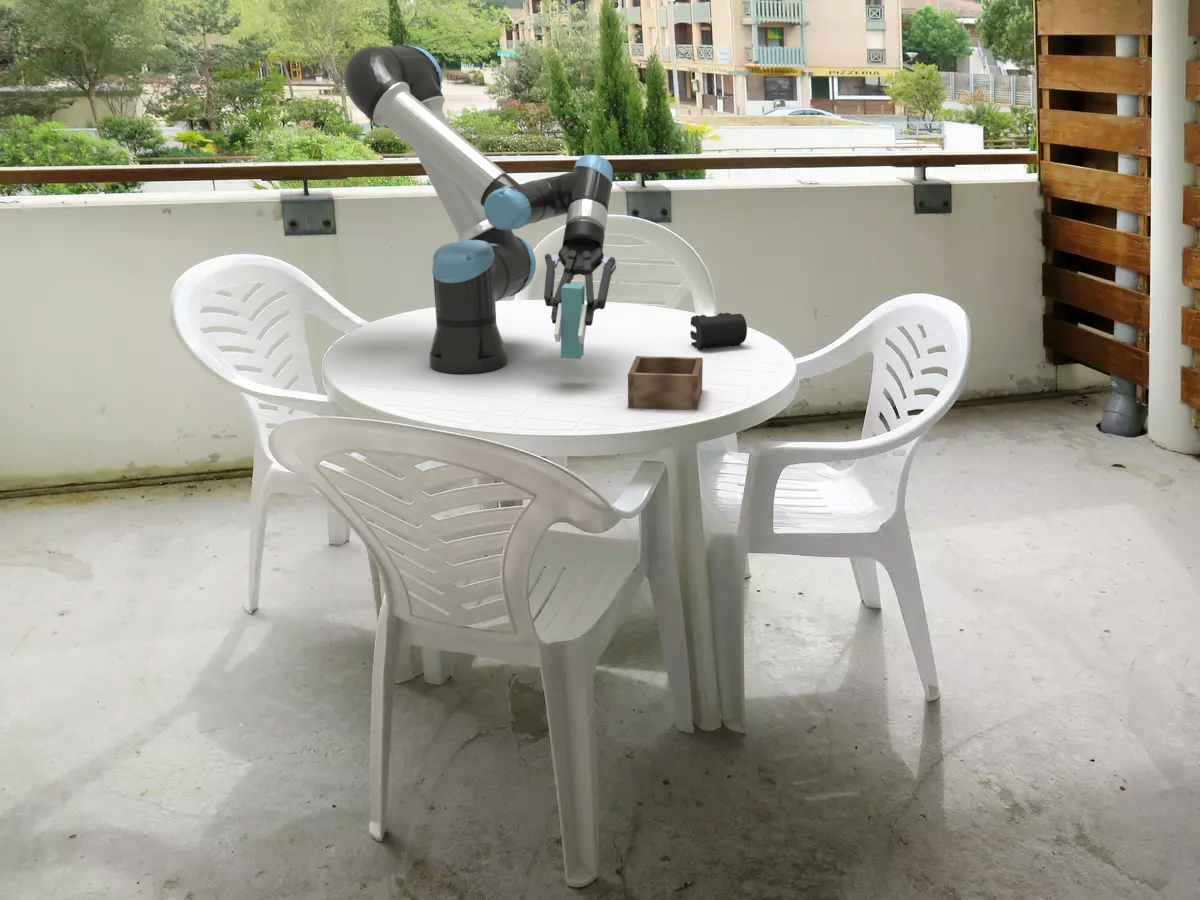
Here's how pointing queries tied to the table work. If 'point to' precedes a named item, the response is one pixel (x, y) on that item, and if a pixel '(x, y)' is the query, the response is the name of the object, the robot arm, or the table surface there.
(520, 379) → the table surface
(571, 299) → the peg
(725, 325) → the end cap
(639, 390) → the box
